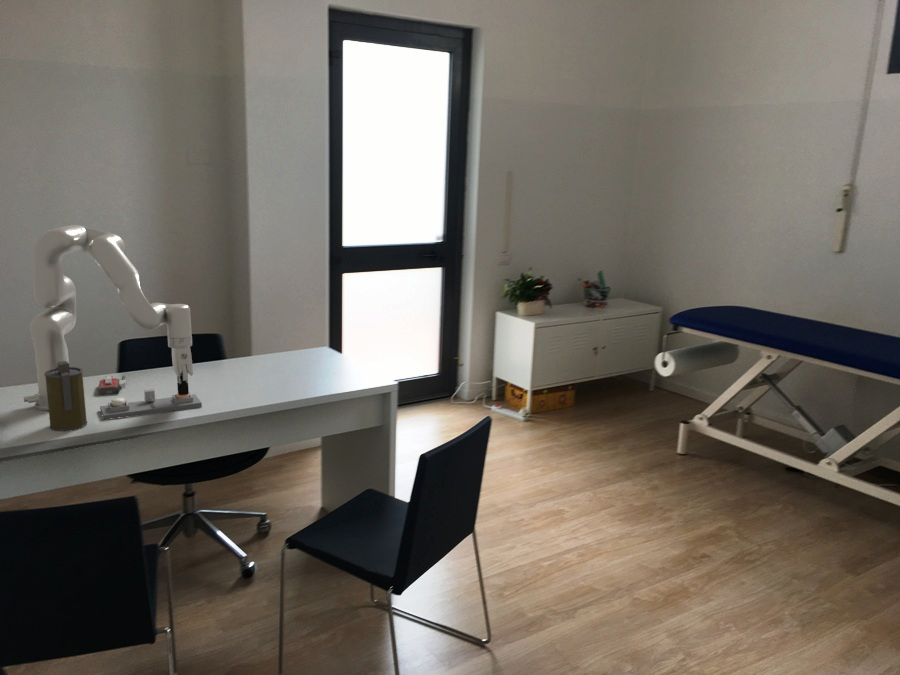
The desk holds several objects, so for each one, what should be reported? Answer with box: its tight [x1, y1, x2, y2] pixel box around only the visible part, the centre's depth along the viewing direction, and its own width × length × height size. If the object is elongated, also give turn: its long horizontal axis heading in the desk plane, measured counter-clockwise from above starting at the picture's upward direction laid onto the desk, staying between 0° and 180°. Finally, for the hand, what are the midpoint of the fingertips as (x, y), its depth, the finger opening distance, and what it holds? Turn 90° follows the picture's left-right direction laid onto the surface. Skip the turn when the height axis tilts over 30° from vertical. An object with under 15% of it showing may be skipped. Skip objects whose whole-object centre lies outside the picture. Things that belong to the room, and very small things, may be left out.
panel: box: [99, 392, 203, 420], centre depth 244 cm, size 30×10×3 cm, turn 121°
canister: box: [44, 361, 88, 432], centre depth 224 cm, size 11×10×20 cm
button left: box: [110, 397, 126, 407], centre depth 238 cm, size 4×4×2 cm
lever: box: [143, 388, 156, 402], centre depth 246 cm, size 2×3×4 cm, turn 121°
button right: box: [175, 392, 189, 399], centre depth 248 cm, size 4×4×2 cm
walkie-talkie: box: [97, 374, 127, 396], centre depth 265 cm, size 9×4×20 cm
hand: (183, 394), depth 248 cm, fingers closed
